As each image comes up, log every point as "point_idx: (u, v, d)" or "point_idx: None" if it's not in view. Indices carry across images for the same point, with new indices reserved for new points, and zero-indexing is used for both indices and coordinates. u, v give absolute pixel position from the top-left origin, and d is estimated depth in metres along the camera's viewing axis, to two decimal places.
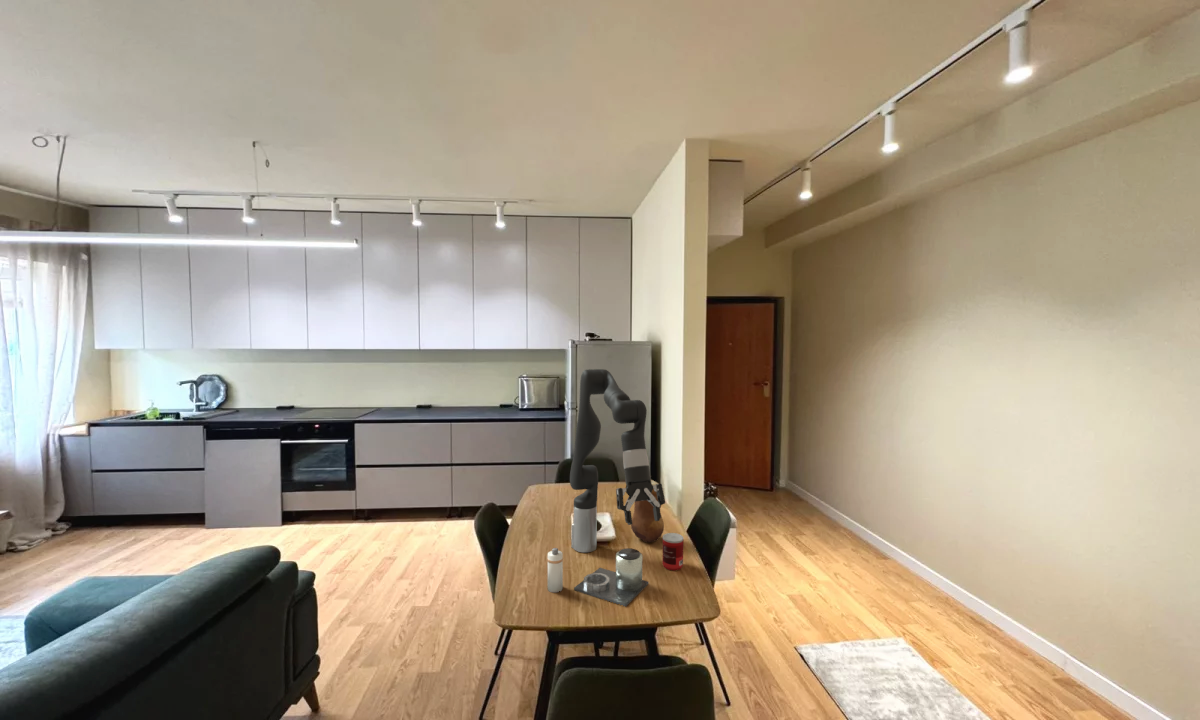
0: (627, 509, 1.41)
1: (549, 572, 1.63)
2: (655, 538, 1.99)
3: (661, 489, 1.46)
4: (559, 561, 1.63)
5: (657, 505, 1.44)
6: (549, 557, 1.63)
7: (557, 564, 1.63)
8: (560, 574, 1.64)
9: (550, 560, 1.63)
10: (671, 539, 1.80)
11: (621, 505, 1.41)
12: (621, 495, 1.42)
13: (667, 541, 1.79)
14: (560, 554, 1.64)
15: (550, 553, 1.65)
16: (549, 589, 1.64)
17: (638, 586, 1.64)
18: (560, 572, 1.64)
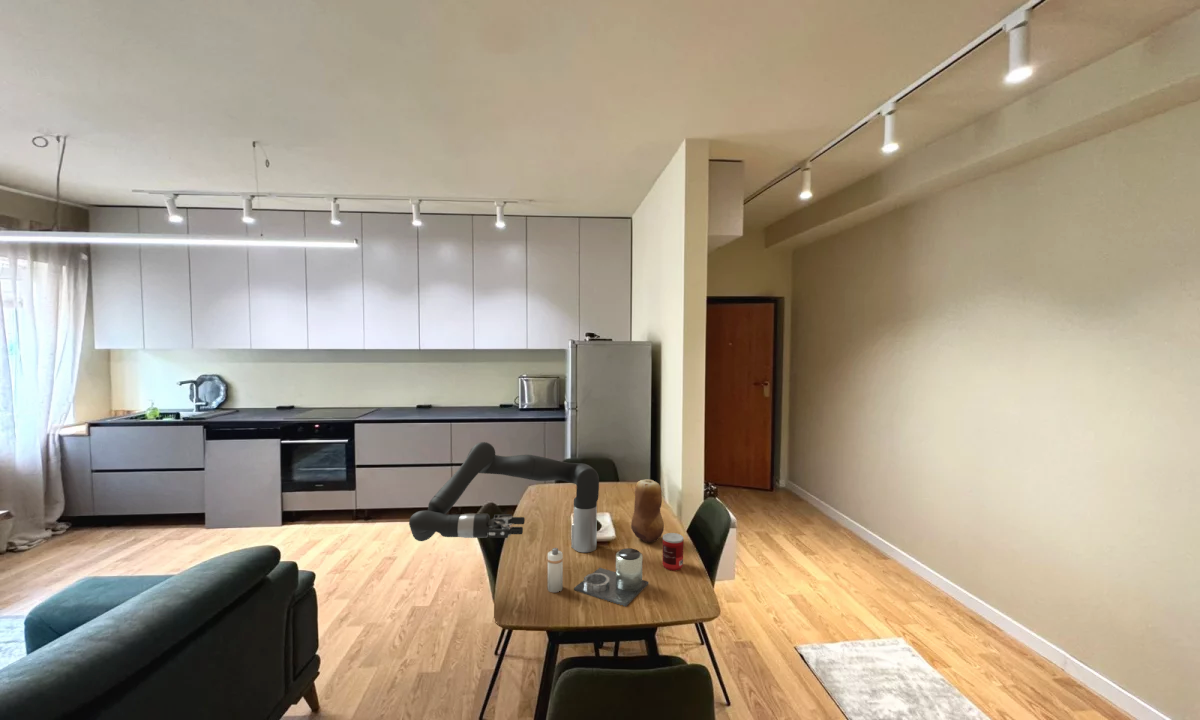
0: None
1: (549, 572, 1.63)
2: (655, 538, 1.99)
3: None
4: (559, 561, 1.63)
5: None
6: (549, 557, 1.63)
7: (557, 564, 1.63)
8: (560, 574, 1.64)
9: (550, 560, 1.63)
10: (671, 539, 1.80)
11: None
12: None
13: (667, 541, 1.79)
14: (560, 554, 1.64)
15: (550, 553, 1.65)
16: (549, 589, 1.64)
17: (638, 586, 1.64)
18: (560, 572, 1.64)
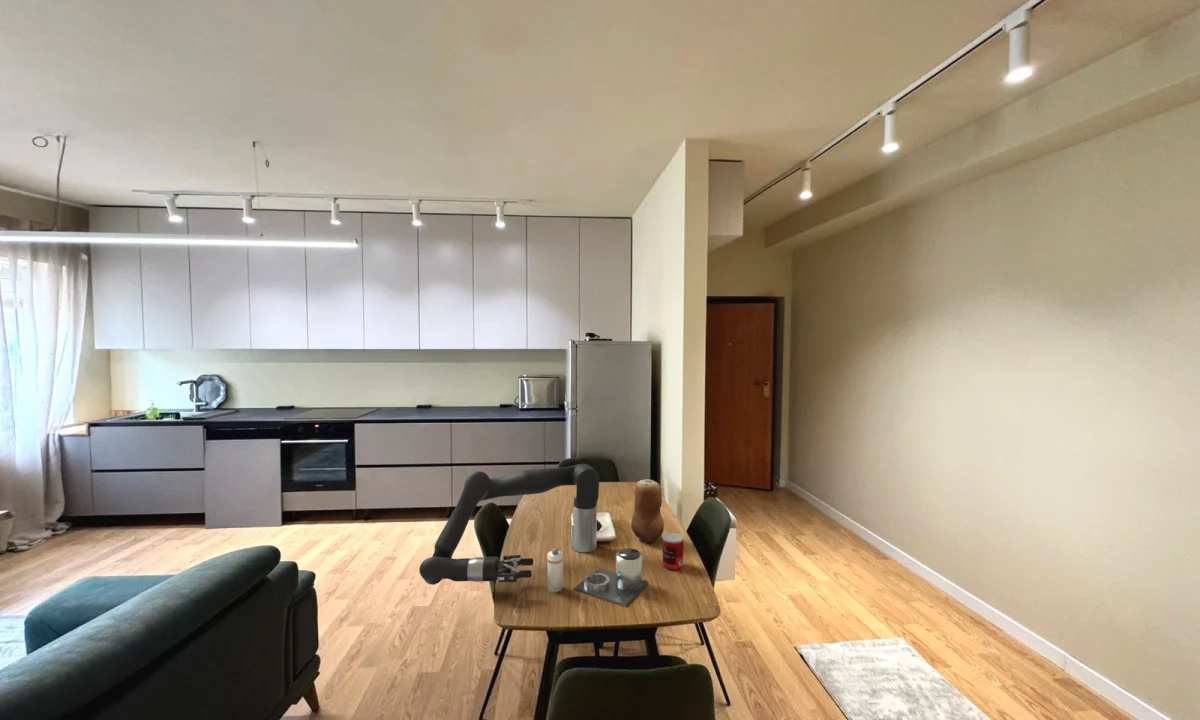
0: None
1: (549, 572, 1.63)
2: (655, 538, 1.99)
3: None
4: (559, 561, 1.63)
5: None
6: (549, 557, 1.63)
7: (557, 564, 1.63)
8: (560, 574, 1.64)
9: (550, 560, 1.63)
10: (671, 539, 1.80)
11: None
12: None
13: (667, 541, 1.79)
14: (560, 554, 1.64)
15: (550, 553, 1.65)
16: (549, 589, 1.64)
17: (638, 586, 1.64)
18: (560, 572, 1.64)
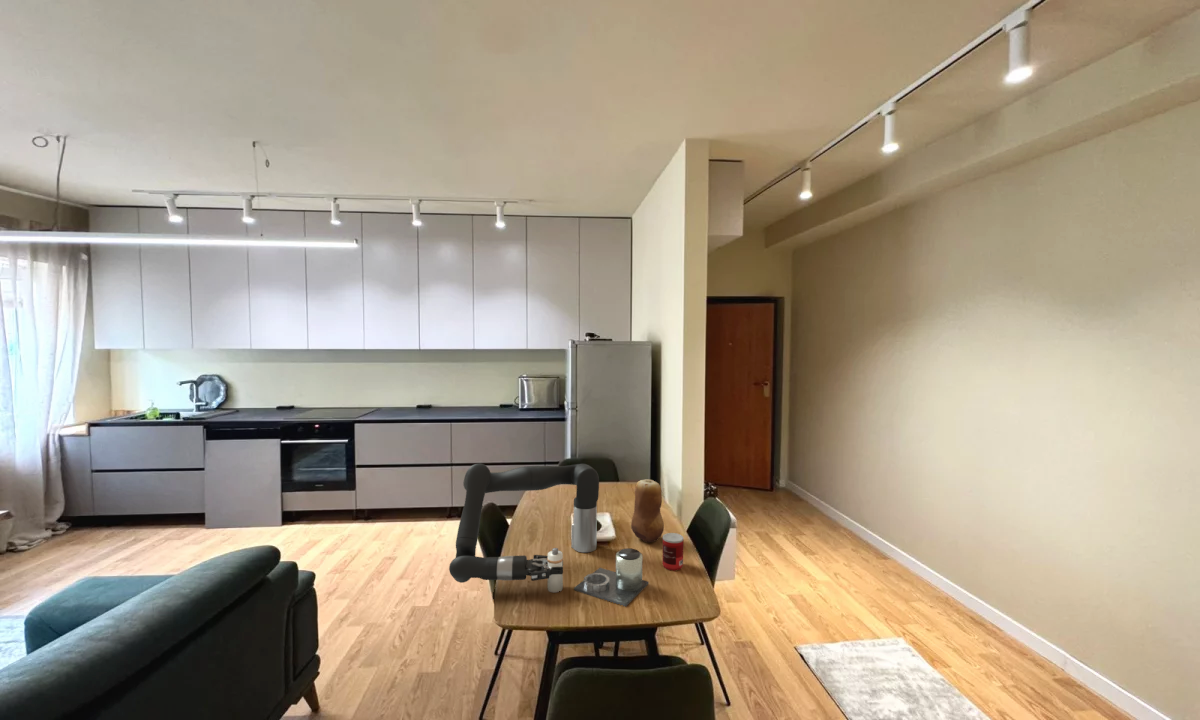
0: None
1: None
2: (655, 538, 1.99)
3: None
4: (559, 561, 1.63)
5: None
6: (549, 557, 1.63)
7: (557, 564, 1.63)
8: (560, 574, 1.64)
9: (550, 560, 1.63)
10: (671, 539, 1.80)
11: None
12: None
13: (667, 541, 1.79)
14: (560, 554, 1.64)
15: (550, 553, 1.65)
16: (549, 589, 1.64)
17: (638, 586, 1.64)
18: None
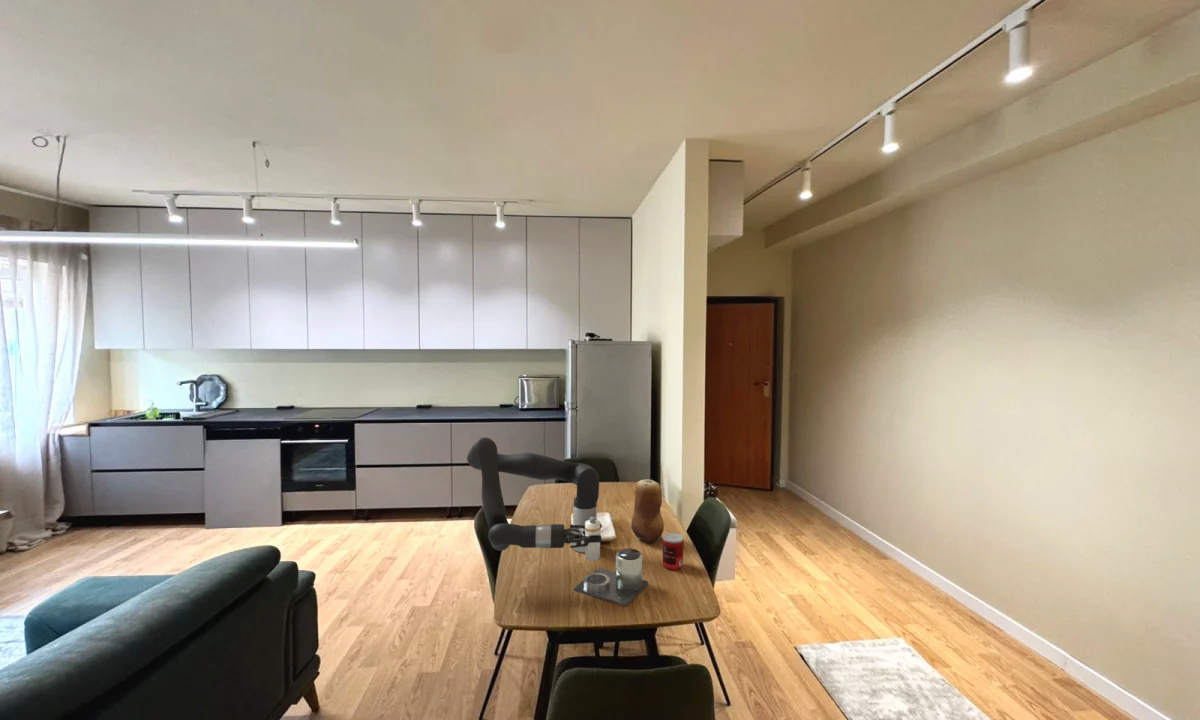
0: None
1: None
2: (655, 538, 1.99)
3: None
4: (597, 529, 1.63)
5: None
6: (587, 525, 1.63)
7: (595, 532, 1.63)
8: (598, 542, 1.64)
9: (588, 528, 1.63)
10: (671, 539, 1.80)
11: None
12: None
13: (667, 541, 1.79)
14: (598, 523, 1.65)
15: (588, 522, 1.65)
16: (587, 557, 1.64)
17: (638, 586, 1.64)
18: None
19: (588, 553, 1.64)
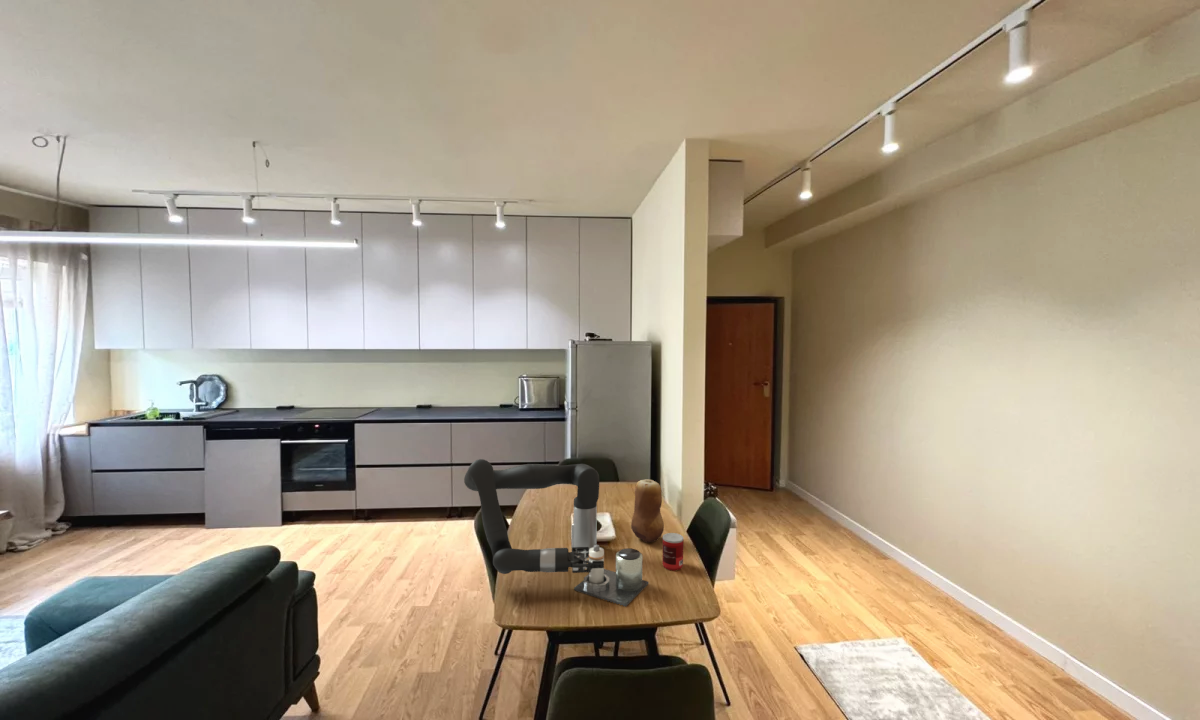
0: None
1: None
2: (655, 538, 1.99)
3: None
4: (601, 558, 1.64)
5: None
6: (591, 554, 1.64)
7: (599, 560, 1.64)
8: (602, 570, 1.65)
9: (592, 557, 1.64)
10: (671, 539, 1.80)
11: None
12: None
13: (667, 541, 1.79)
14: (601, 551, 1.65)
15: (591, 550, 1.66)
16: None
17: (638, 586, 1.64)
18: (602, 568, 1.64)
19: (592, 581, 1.64)
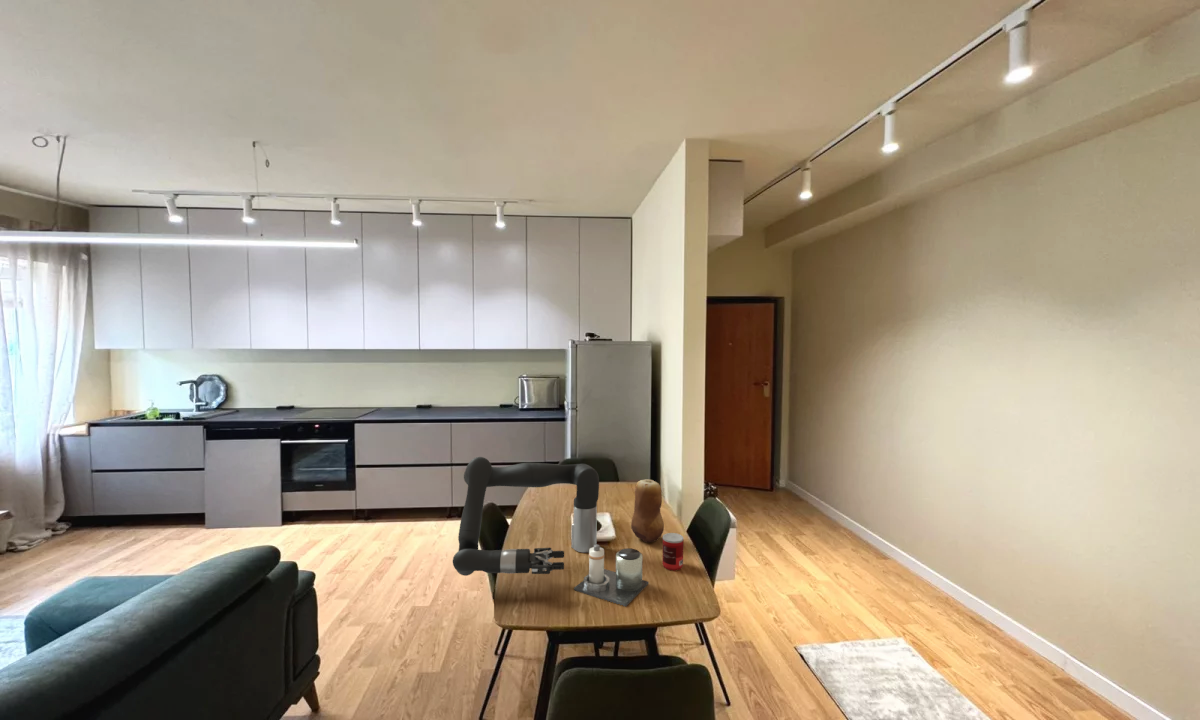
0: None
1: (591, 568, 1.64)
2: (655, 538, 1.99)
3: None
4: (601, 557, 1.64)
5: None
6: (591, 553, 1.64)
7: (599, 560, 1.64)
8: (602, 570, 1.65)
9: (592, 556, 1.64)
10: (671, 539, 1.80)
11: None
12: None
13: (667, 541, 1.79)
14: (602, 550, 1.65)
15: (592, 549, 1.66)
16: None
17: (638, 586, 1.64)
18: (602, 568, 1.65)
19: (592, 581, 1.64)
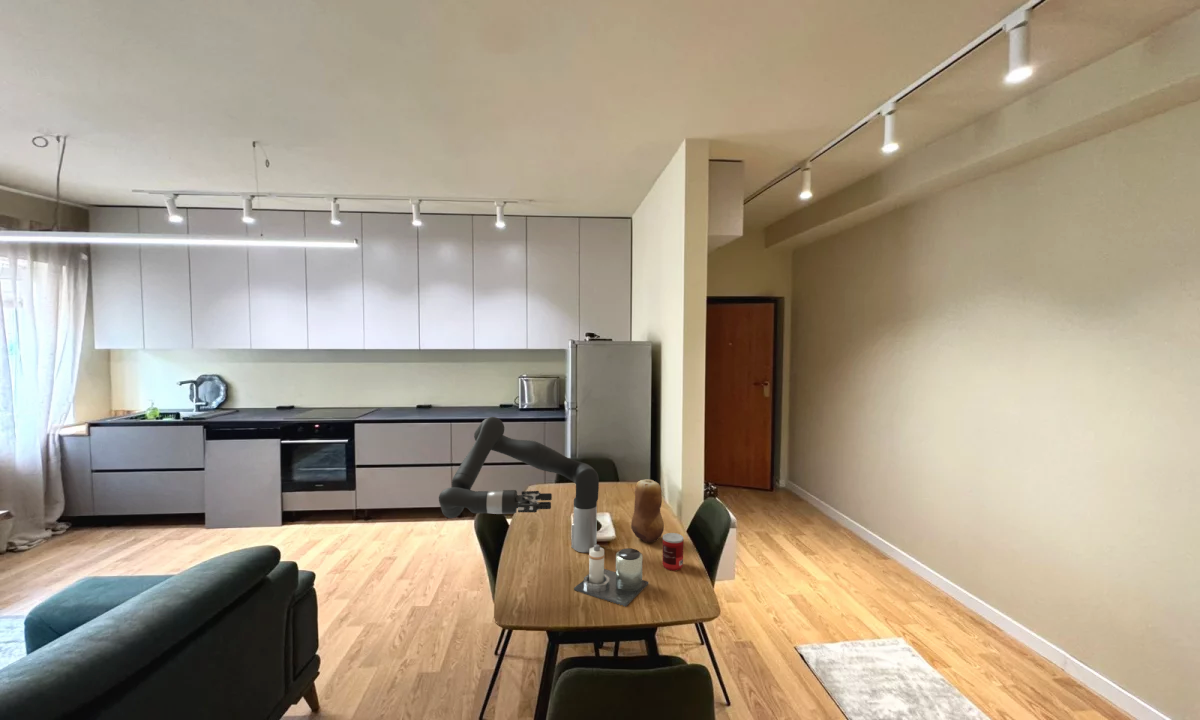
0: None
1: (591, 568, 1.64)
2: (655, 538, 1.99)
3: None
4: (601, 557, 1.64)
5: None
6: (591, 553, 1.64)
7: (599, 560, 1.64)
8: (602, 570, 1.65)
9: (592, 556, 1.64)
10: (671, 539, 1.80)
11: None
12: None
13: (667, 541, 1.79)
14: (602, 550, 1.65)
15: (592, 549, 1.66)
16: None
17: (638, 586, 1.64)
18: (602, 568, 1.64)
19: (592, 581, 1.64)
